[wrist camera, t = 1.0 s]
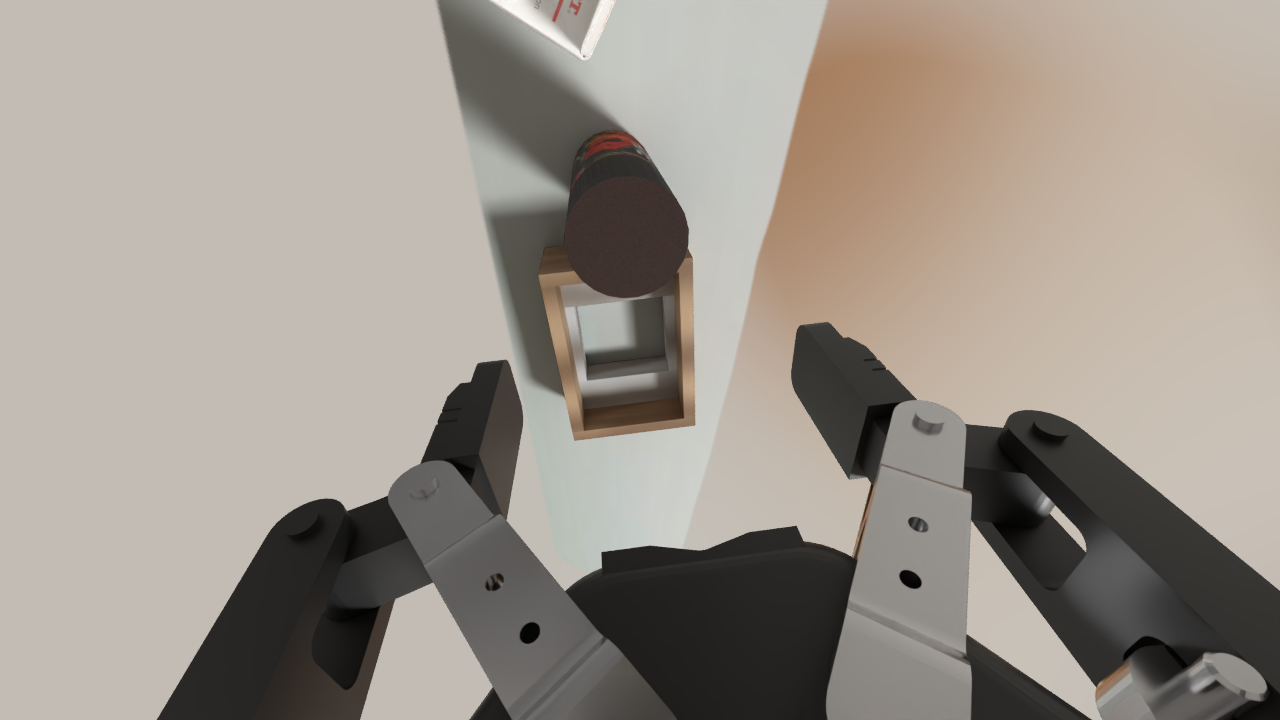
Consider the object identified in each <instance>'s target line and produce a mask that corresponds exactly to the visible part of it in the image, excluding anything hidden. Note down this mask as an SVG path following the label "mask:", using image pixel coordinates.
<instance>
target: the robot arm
mask: <svg viewBox="0 0 1280 720" xmlns="http://www.w3.org/2000/svg"><path fill="white" fill-rule="evenodd" d="M791 378H792V384H793V388H794V390H795V392H796V394H797V396H798V398H799V399H800V401H801V402H802V404H803V406H804V407H805V409H806V411H807V412H808V414H809V415H810V417H811V419H812V420H813V422H814V424H815V425H816V427H817V428H818V430H819V432H820V433H821V435H822V437H823V438H824V440H825V441H826V443H827V445H828V446H829V448H830V449H831V451H832V453H833V454H834V456H835V458H836V459H837V461H838V463H839V464H840V466H841V467H842V469H843V471H844V472H845V474H846V475H847V477H848V479H849V480H850V479H858V478H866V477H867V478H868V479H869V481H870V482H871V486H870V489H869V493H868V497H867V500H866V504H865V508H864V512H863V516H862V520H861V524H860V528H859V532H858V535H857V539H856V543H855V547H854V551H853V555H852V557H851V556H849V555H847V554H845V553H843V552H841V551H838V550H836V549H834V548H830V547H827V546H824V545H821V544H816V543H811V542H805V541H803V539H802V537H801V535H800V533H799V530H798V528H797V526H792V527H785V528H777V529H770V530H763V531H756V532H749V533H746V534H744V535H741V536H739V537H736V538H734V539H731V540H729V541H726V542H724V543H721V544H719V545H717V546H714V547H712V548H709V549H706V550H702V551H697V550H686V549H677V548H667V547H658V546H644V547H637V548H629V549H622V550H615V551H607V552H602V568H601V569H598V570H596V571H594V572H592V573H590V574H588V575H586V576H584V577H583V578H581V579H580V580H578V581H577V582H576V583H574V584H573V585H572V586H571V587H570V588H568V589H567V590H566V591H564V590H563V588H562V587H561V586H560V585H559V584H558V583H557V581H556V580H555V579H554V578H553V576H552V575H551V574H550V573H549V572H548V570H547V569H546V568H545V567H544V566H543V564H542V563H541V562H540V561H539V559H538V558H537V557H536V556H535V555H534V553H533V552H532V551H531V550H530V549H529V547H528V546H527V545H526V544H525V543H524V541H523V540H522V539H521V538H520V537H519V535H518V534H517V533H516V532H515V530H514V529H513V528H512V527H511V526H510V524H509V523H508V522H507V521H506V519H507V514H508V509H509V503H510V497H511V491H512V485H513V480H514V474H515V468H516V462H517V456H518V450H519V445H520V439H521V433H522V427H523V412H522V406H521V402H520V399H519V395H518V391H517V388H516V385H515V381H514V378H513V374H512V371H511V367H510V365H509V363H508V361H507V360H499V361H490V362H482V363H478V364H477V366H476V369H475V372H474V374H473V377H472V380H471V382H469V383H461V384H459V385H458V387H456V388H455V390H454V391H453V392H452V393H451V394H450V395H449V396H448V397H447V400H446V402H445V404H444V407H443V409H442V413H441V415H440V417H439V419H438V425H436V427H435V429H434V432H433V434H432V436H431V439H430V442H429V444H428V446H427V449H426V451H425V454H424V456H423V459H422V461H421V463H420V464H419V465H417V466H415V467H413V468H411V469H409V470H408V471H406V472H405V473H403V474H402V475H401V476H400V477H399V478H398V479H397V480H396V481H395V482H394V484H393V485H392V487H391V488H390V491H389V494H388V496H386V497H384V498H381V499H379V500H376V501H374V502H371V503H368V504H365V505H363V506H360V507H357V508H355V509H352V510H349V511H347V510H346V509H345V508H344V506H343V505H342V504H341V502H339V501H337V500H334V499H319V500H315V501H312V502H309V503H306V504H304V505H302V506H300V507H298V508H296V509H294V510H293V511H291V512H290V513H288V514H287V515H285V517H283V518H282V519H281V520H280V521H278V522H277V523H276V525H275V526H274V527H273V528H272V529H271V530H270V532H269V533H268V535H267V537H266V538H265V540H264V542H263V543H262V545H261V547H260V548H259V550H258V552H257V554H256V555H255V557H254V558H253V560H252V562H251V563H250V565H249V567H248V568H247V570H246V572H245V573H244V575H243V577H242V579H241V580H240V582H239V583H238V585H237V587H236V588H235V590H234V592H233V593H232V595H231V597H230V598H229V600H228V602H227V604H226V605H225V607H224V609H223V610H222V612H221V613H220V615H219V617H218V618H217V620H216V622H215V623H214V625H213V627H212V628H211V630H210V632H209V634H208V635H207V637H206V639H205V640H204V642H203V644H202V645H201V647H200V649H199V650H198V652H197V654H196V655H195V657H194V659H193V660H192V662H191V664H190V665H189V667H188V669H187V670H186V672H185V674H184V675H183V677H182V679H181V680H180V682H179V684H178V685H177V687H176V689H175V690H174V692H173V694H172V695H171V697H170V699H169V700H168V702H167V704H166V705H165V707H164V709H163V710H162V712H161V714H160V716H159V717H158V719H157V720H360V717H361V714H362V711H363V707H364V704H365V701H366V697H367V694H368V690H369V687H370V683H371V680H372V677H373V673H374V670H375V666H376V663H377V659H378V656H379V653H380V649H381V646H382V642H383V639H384V635H385V632H386V629H387V625H388V621H389V618H390V615H391V611H392V608H393V604H394V601H395V599H396V598H399V597H401V596H403V595H405V594H408V593H410V592H412V591H415V590H417V589H419V588H421V587H423V586H426V585H428V584H430V583H434V584H435V586H436V588H437V589H438V591H439V593H440V595H441V597H442V598H443V600H444V602H445V604H446V605H447V607H448V609H449V611H450V612H451V614H452V616H453V618H454V619H455V621H456V623H457V624H458V626H459V628H460V630H461V632H462V633H463V635H464V637H465V639H466V640H467V642H468V644H469V646H470V647H471V649H472V651H473V653H474V654H475V656H476V658H477V659H478V661H479V663H480V665H481V666H482V668H483V670H484V672H485V673H486V675H487V677H488V679H489V680H490V682H491V684H492V686H493V688H492V689H491V690H490V692H489V693H488V695H487V696H486V698H485V699H484V700H483V702H482V703H481V705H480V706H479V707H478V709H477V710H476V711H475V713H474V714H473V716H472V717H471V718H470V720H1091V719H1090V718H1088V717H1087V716H1085V715H1084V714H1083V713H1081V712H1080V711H1078V710H1077V709H1075V708H1074V707H1072V706H1071V705H1069V704H1068V703H1066V702H1065V701H1064V700H1062V699H1061V698H1059V697H1058V696H1056V695H1055V694H1053V693H1052V692H1050V691H1049V690H1047V689H1046V688H1044V687H1043V686H1042V685H1040V684H1039V683H1037V682H1036V681H1034V680H1033V679H1031V678H1030V677H1028V676H1027V675H1025V674H1024V673H1023V672H1021V671H1020V670H1018V669H1017V668H1015V667H1013V666H1012V665H1011V664H1009V663H1008V662H1006V661H1005V660H1004V659H1002V658H1001V657H999V656H998V655H996V654H995V653H993V652H992V651H990V650H989V649H988V648H986V647H985V646H983V645H982V644H980V643H979V642H977V641H976V640H974V639H973V638H971V637H970V636H969V635H967V634H966V626H967V603H968V579H969V555H970V553H969V552H970V529H971V520H972V522H973V523H974V525H975V526H976V527H977V528H978V530H979V531H980V533H981V534H982V535H983V537H984V538H985V539H986V540H987V542H988V543H989V544H990V546H991V547H992V549H993V550H994V551H995V552H996V554H997V555H998V556H999V558H1000V559H1001V561H1002V562H1003V563H1004V565H1005V566H1006V567H1007V569H1008V570H1009V571H1010V572H1011V574H1012V575H1013V577H1014V578H1015V579H1016V581H1017V582H1018V583H1019V584H1020V586H1021V587H1022V589H1023V590H1024V591H1025V593H1026V594H1027V595H1028V597H1029V598H1030V599H1031V601H1032V602H1033V603H1034V605H1035V606H1036V607H1037V609H1038V610H1039V611H1040V613H1041V614H1042V615H1043V617H1044V618H1045V619H1046V620H1047V622H1048V623H1049V625H1050V626H1051V627H1052V629H1053V630H1054V631H1055V633H1056V634H1057V635H1058V637H1059V638H1060V639H1061V641H1062V642H1063V643H1064V645H1065V646H1066V647H1067V649H1068V650H1069V651H1070V653H1071V654H1072V655H1073V657H1074V658H1075V660H1076V661H1077V662H1078V663H1079V665H1080V666H1081V668H1082V669H1083V670H1084V671H1085V673H1086V674H1087V676H1088V677H1089V678H1090V679H1091V681H1092V682H1093V684H1094V685H1095V686H1096V693H1095V698H1096V705H1097V708H1098V711H1099V713H1100V716H1101V718H1102V719H1103V720H1280V591H1279V590H1278V589H1277V588H1276V587H1274V586H1273V585H1272V584H1270V582H1268V581H1267V580H1266V579H1265V578H1263V577H1262V576H1261V575H1260V574H1258V573H1257V572H1256V571H1255V570H1254V569H1252V568H1251V567H1250V566H1249V565H1247V564H1246V563H1245V562H1244V561H1243V560H1241V559H1240V558H1239V557H1238V556H1236V555H1235V554H1234V553H1233V552H1232V551H1230V550H1229V549H1228V548H1227V547H1226V546H1224V545H1223V544H1222V543H1221V542H1219V541H1218V540H1217V539H1216V538H1215V537H1213V536H1212V535H1211V534H1210V533H1208V532H1207V531H1206V530H1205V529H1204V528H1202V527H1201V526H1200V525H1199V524H1197V523H1196V522H1195V521H1194V520H1192V519H1191V518H1190V517H1189V516H1188V515H1186V514H1185V513H1184V512H1183V511H1181V510H1180V509H1179V508H1178V507H1176V506H1175V505H1174V504H1173V503H1172V502H1170V501H1169V500H1168V499H1167V498H1165V497H1164V496H1163V495H1162V494H1161V493H1160V492H1158V491H1157V490H1156V489H1155V488H1153V487H1152V486H1151V485H1150V484H1149V483H1147V482H1146V481H1145V480H1144V479H1142V478H1141V477H1140V476H1139V475H1138V474H1136V473H1135V472H1134V471H1132V470H1131V469H1130V468H1129V467H1128V466H1126V465H1125V464H1124V463H1123V462H1122V461H1120V460H1119V459H1118V458H1117V457H1116V456H1114V455H1113V454H1112V453H1111V452H1109V451H1108V450H1107V449H1106V448H1105V447H1103V446H1102V445H1101V444H1100V443H1098V442H1097V441H1096V440H1095V439H1094V438H1092V437H1091V436H1090V435H1089V434H1088V433H1086V432H1085V431H1084V430H1082V429H1081V428H1080V427H1078V426H1077V425H1075V424H1074V423H1072V422H1070V421H1068V420H1066V419H1064V418H1061V417H1059V416H1056V415H1053V414H1050V413H1046V412H1042V411H1034V410H1023V411H1018V412H1015V413H1013V414H1011V415H1010V416H1009V418H1008V419H1007V421H1006V423H1005V425H1004V427H1003V428H999V427H988V426H978V425H968V424H965V423H964V422H963V420H962V419H961V418H960V417H959V416H958V415H957V414H956V413H954V412H953V411H951V410H950V409H948V408H946V407H944V406H941V405H939V404H936V403H933V402H928V401H921V400H917V399H916V398H915V397H914V396H913V395H912V394H911V393H910V392H909V391H908V390H907V389H906V388H905V387H904V386H903V385H902V384H901V383H900V382H899V381H898V380H897V378H896V377H895V376H894V375H893V374H892V373H891V372H890V371H889V370H886V367H885V366H884V365H883V364H882V363H881V362H880V361H879V360H877V357H876V356H875V355H874V354H873V353H872V352H871V351H870V350H869V349H868V348H867V347H866V346H864V345H862V344H860V343H859V342H857V341H855V340H853V339H851V338H849V337H848V338H843V337H842V336H841V335H840V334H839V333H838V332H837V331H836V329H835V328H834V327H833V326H832V325H831V324H830V323H828V322H824V323H815V324H807V325H800V326H799V328H798V329H797V333H796V340H795V348H794V355H793V363H792V370H791ZM1055 505H1056V506H1057V507H1058V508H1059V509H1060V510H1061V512H1062V513H1063V514H1065V516H1066V517H1067V518H1068V519H1069V520H1070V521H1071V522H1072V523H1073V524H1074V525H1075V526H1076V527H1077V528H1078V529H1079V531H1080V532H1081V533H1082V536H1083V537H1084V540H1085V542H1086V548H1087V550H1086V552H1085V551H1084V550H1083V549H1082V548H1081V547H1080V546H1079V545H1078V544H1077V543H1076V541H1075V540H1074V539H1073V538H1072V537H1071V536H1070V535H1069V534H1068V533H1067V532H1066V531H1065V530H1064V528H1063V527H1062V526H1061V525H1060V524H1059V523H1058V522H1057V521H1056V520H1055V519H1054V518H1053V517H1052V516H1051V515H1050V512H1051V511H1052V509H1053V508H1054V506H1055Z"/></svg>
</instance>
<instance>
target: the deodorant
mask: <svg viewBox="0 0 1280 720" xmlns="http://www.w3.org/2000/svg"><path fill="white" fill-rule="evenodd" d="M688 235H689V229H688V225H687V221H686V217H685V213H684V212H683V210H682V208H681V206H680V205H679V203H678V201H677V199H676V198H675V196H674V195H673V193H672V191H671V190H670V188H669V187H668V185H667V183H666V182H665V180H664V179H663V177H662V176H661V174H660V172H659V171H658V169H657V168H656V166H655V164H654V163H653V161H652V160H651V158H650V157H649V155H648V153H647V152H646V150H645V149H644V147H643V146H642V145H641V144H640V143H639V142H638V141H637V140H636V139H635V138H634V137H632V136H630V135H628V134H627V133H623V132H619V131H603V132H601V133H598V134H595V135H593V136H592V137H590V138H589V139H588V140H586V141H585V142H584V144H583V145H582V146H581V148H580V149H579V150H578V152H577V155H576V157H575V160H574V165H573V173H572V180H571V188H570V196H569V204H568V212H567V220H566V228H565V236H564V240H565V248H566V254H567V257H568V259H569V262H570V264H571V266H572V269H573V270H574V271H575V273H576V274H577V275H578V276H579V278H580V279H581V280H582V281H583V282H584V283H585V284H587V285H588V286H589V287H591V288H592V289H593V290H595V291H597V292H600V293H602V294H604V295H607V296H611V297H617V298H635V297H640V296H643V295H646V294H649V293H652V292H654V291H656V290H657V289H659V288H660V287H662V286H664V285H665V284H666V283H667V282H668V281H669V280H670V279H671V278H672V277H673V276H674V275H675V274H676V273H677V271H678V269H679V268H680V266H681V264H682V263H683V261H684V258H685V255H686V251H687V248H688Z"/></svg>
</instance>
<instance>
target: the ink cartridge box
mask: <svg viewBox="0 0 1280 720" xmlns="http://www.w3.org/2000/svg"><path fill="white" fill-rule="evenodd" d="M489 1H490V2H491V3H492V4H494V5H495V6H497V7H498V8H500V9H501V10H503V11H504V12H506V13H507V14H509V15H510V16H512V17H513V18H515V19H516V20H518V21H520V22H521V23H523V24H524V25H526V26H527V27H529V28H530V29H532V30H533V31H535V32H536V33H538V34H540V35H541V36H543V37H544V38H546V39H547V40H549V41H551V42H552V43H554V44H556V45H557V46H559V47H560V48H562V49H564V50H565V51H567V52H569V53H570V54H572V55H573V56H575V57H577V58H578V59H580V60H582V61H586V60H588V59H589V58H590V57H591V55H592V53H593V51H594V48H595V46H596V44H597V42H598V40H599V38H600V35H601V33H602V31H603V29H604V27H605V24H606V22H607V20H608V17H609V15H610V13H611V10H612V8H613V6H614V3H615V1H616V0H489Z"/></svg>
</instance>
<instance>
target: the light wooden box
mask: <svg viewBox="0 0 1280 720" xmlns="http://www.w3.org/2000/svg"><path fill="white" fill-rule="evenodd" d="M538 277H539V281H540V286H541V290H542V295H543V300H544V304H545V309H546V313H547V318H548V322H549V327H550V332H551V336H552V341H553V345H554V350H555V354H556V359H557V363H558V368H559V373H560V377H561V382H562V386H563V391H564V395H565V400H566V405H567V409H568V414H569V418H570V423H571V427H572V432H573V436H574V441H576V440H584V439H592V438H600V437H608V436H615V435H623V434H631V433H639V432H647V431H655V430H663V429H671V428H679V427H687V426H695V377H694V315H693V258H692V256H691V254H690V252H689V250H688V248H687V251H686V255H685V258H684V261H683V263H682V264H681V266H680V268H679V269H678V271H677V273H676V274H675V275H674V276H673V277H672V278H671V279H670V280H669V281H668V282H667V283H666V284H665V285H664V286H662V287H660V288H659V289H657V290H656V291H654V292H652V293H649V294H646V295H643V296H640V297H635V298H617V297H611V296H607V295H604V294H602V293H600V292H597V291H595V290H593V289H592V288H591V287H589V286H588V285H587V284H585V283H584V282H583V281H582V280H581V279H580V278H579V276H578V275H577V274H576V273H575V271H574V270H573V269H572V266H571V264H570V262H569V259H568V257H567V254H566V248H565V246H558V247H549V248H544V251H543V256H542V260H541V265H540V269H539V274H538ZM654 297H662V308H663V325H664V342H665V356H660V357H652V358H644V359H636V360H627V361H619V362H611V363H602V364H594V365H587V362H586V357H585V351H584V345H583V340H582V334H581V328H580V323H579V317H578V311H577V306H585V305H593V304H602V303H611V302H619V301H628V300H637V299H645V298H654Z"/></svg>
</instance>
